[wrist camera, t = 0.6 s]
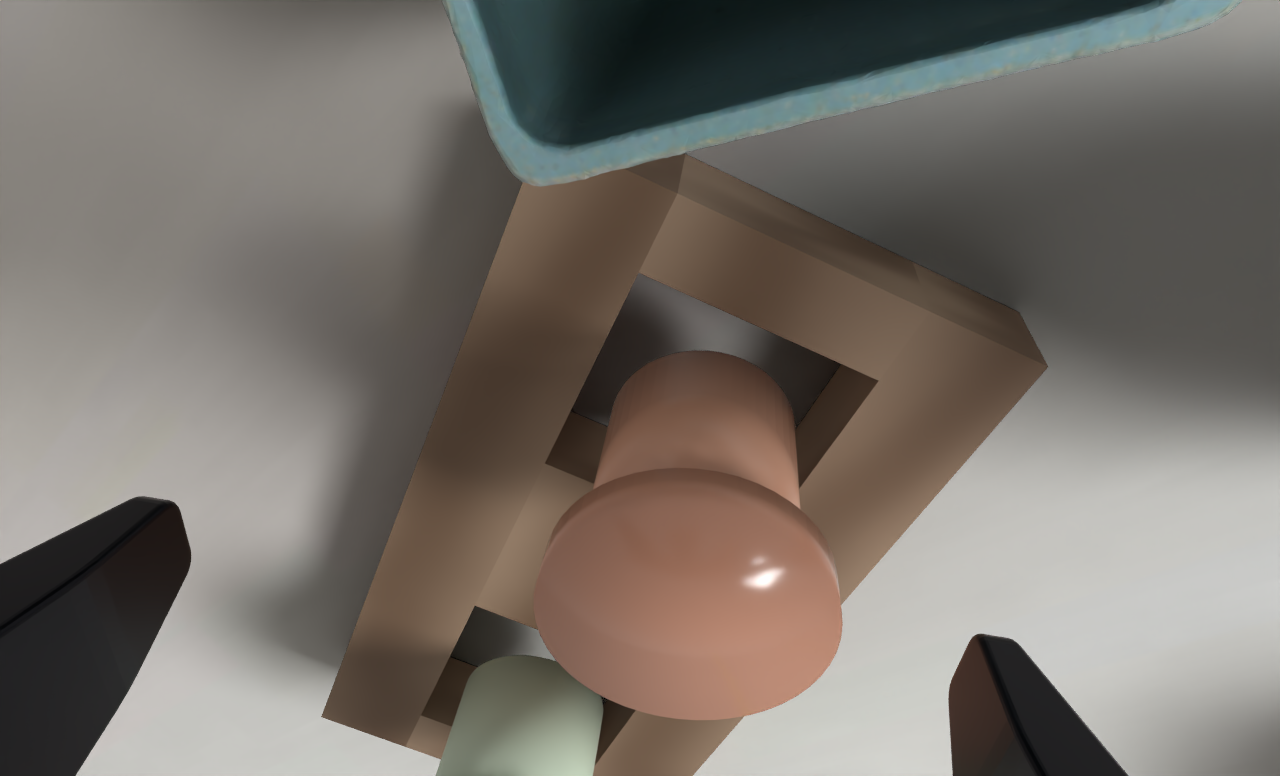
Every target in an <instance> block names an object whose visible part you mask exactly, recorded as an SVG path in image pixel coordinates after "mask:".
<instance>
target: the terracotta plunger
mask: <svg viewBox="0 0 1280 776" xmlns="http://www.w3.org/2000/svg"><path fill="white" fill-rule="evenodd" d="M533 608H534V614H535V621H536V624H537V627H538V630H539V633H540V636H541V638H542V639H543V641H544V643H545V645H546V647H547V649H548V650H549V651H550V653H551V654H552V655H553V657H554V658H555V660H556V661H557V662H558V663H559V664H560V665H561V666H562V667H563V668H564V669H565V670H566V671H567V672H568V673H569V674H570V675H571V676H573V677H574V678H575V679H576V680H577V681H579V682H580V683H581V684H583V685H584V686H586V687H587V688H589V689H590V690H592V691H593V692H595V693H597V694H599V695H601V696H603V697H605V698H606V699H608V700H611V701H613V702H615V703H618V704H620V705H622V706H625V707H628V708H631V709H634V710H637V711H640V712H644V713H648V714H652V715H656V716H661V717H668V718H674V719H685V720H720V719H730V718H736V717H742V716H747V715H751V714H755V713H758V712H762V711H765V710H768V709H771V708H773V707H776V706H778V705H780V704H783V703H785V702H786V701H788V700H790V699H792V698H794V697H796V696H797V695H799V694H800V693H802V692H803V691H804V690H806V689H807V688H809V687H810V686H811V685H812V684H813V683H814V682H815V681H816V680H817V679H818V678H819V677H821V675H822V674H823V673H824V671H825V670H826V669H827V668H828V666H829V665H830V663H831V661H832V660H833V658H834V656H835V654H836V652H837V649H838V646H839V643H840V640H841V633H842V611H841V602H840V593H839V583H838V574H837V567H836V564H835V560H834V556H833V553H832V551H831V549H830V547H829V545H828V542H827V540H826V539H825V537H824V536H823V534H822V533H821V531H820V530H819V528H818V527H817V526H816V525H815V524H814V523H813V522H812V520H811V519H810V518H809V517H808V516H807V515H806V514H805V513H804V512H803V511H801V510H800V495H799V479H798V464H797V449H796V434H795V421H794V415H793V411H792V407H791V405H790V403H789V401H788V398H787V397H786V395H785V393H784V392H783V390H782V389H781V388H780V386H779V385H778V384H777V383H776V382H775V381H774V380H773V379H772V378H771V377H770V376H769V375H768V374H767V373H766V372H764V371H763V370H761V369H760V368H758V367H757V366H755V365H753V364H752V363H750V362H748V361H746V360H744V359H741V358H738V357H736V356H733V355H729V354H725V353H721V352H714V351H697V350H695V351H684V352H678V353H674V354H669V355H666V356H663V357H661V358H658V359H656V360H654V361H652V362H650V363H648V364H646V365H645V366H643V367H642V368H640V369H639V370H637V371H636V372H635V373H634V374H633V375H632V376H630V378H629V379H628V380H627V381H626V382H625V383H624V385H623V386H622V388H621V389H620V391H619V392H618V394H617V396H616V399H615V401H614V404H613V408H612V412H611V416H610V420H609V424H608V429H607V433H606V437H605V441H604V445H603V449H602V454H601V458H600V462H599V466H598V470H597V474H596V479H595V483H594V487H593V490H592V491H590V492H588V493H587V494H585V495H584V496H582V497H581V498H580V499H579V500H577V501H576V502H575V503H574V504H573V505H571V507H570V508H569V509H568V510H567V511H566V512H565V513H564V514H563V515H562V516H561V518H560V519H559V521H558V523H557V524H556V526H555V527H554V529H553V531H552V533H551V536H550V538H549V540H548V543H547V547H546V550H545V554H544V557H543V561H542V564H541V568H540V571H539V575H538V578H537V582H536V587H535V591H534V607H533Z"/></svg>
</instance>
